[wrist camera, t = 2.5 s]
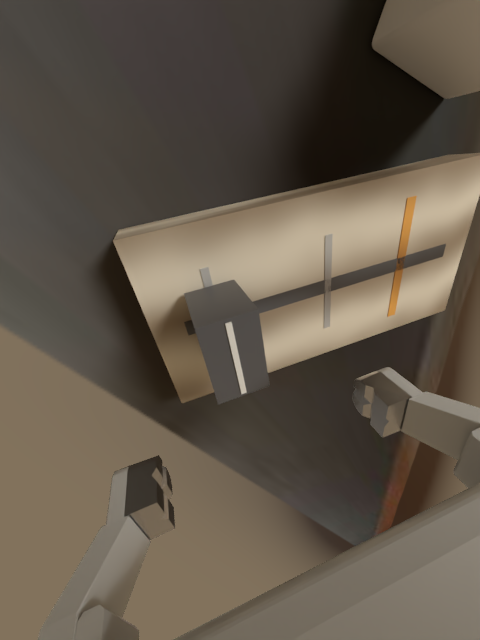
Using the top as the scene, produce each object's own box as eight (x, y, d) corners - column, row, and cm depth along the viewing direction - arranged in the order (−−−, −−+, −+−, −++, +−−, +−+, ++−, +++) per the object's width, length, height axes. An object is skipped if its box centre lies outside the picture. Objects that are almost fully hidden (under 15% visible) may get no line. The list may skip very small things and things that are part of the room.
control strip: (118, 229, 15) (112, 241, 13) (447, 155, 19) (493, 152, 17) (177, 376, 21) (181, 404, 19) (415, 296, 26) (445, 310, 23)
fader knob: (183, 293, 15) (194, 329, 11) (234, 279, 15) (258, 309, 12) (204, 360, 17) (218, 405, 14) (246, 346, 18) (270, 386, 14)
